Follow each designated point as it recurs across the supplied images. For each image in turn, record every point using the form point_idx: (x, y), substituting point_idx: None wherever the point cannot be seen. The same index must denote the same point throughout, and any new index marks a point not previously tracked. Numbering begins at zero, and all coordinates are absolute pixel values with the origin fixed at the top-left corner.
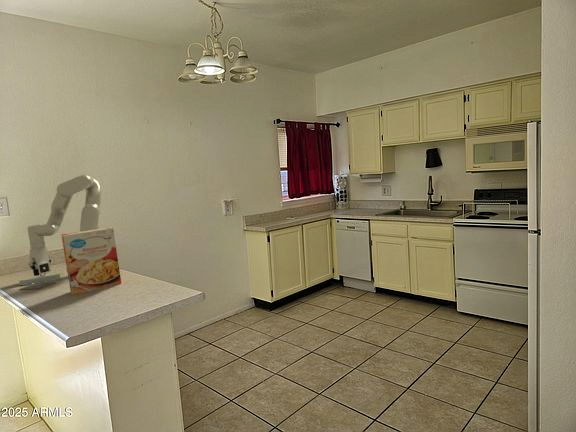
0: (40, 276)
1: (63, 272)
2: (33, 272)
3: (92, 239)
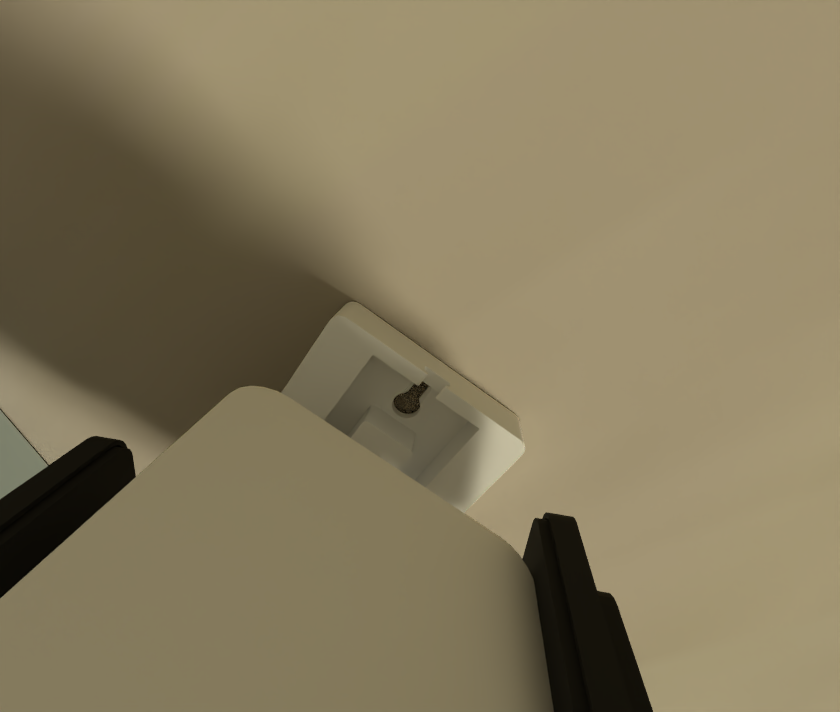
0: (408, 376)
1: (776, 616)
2: (11, 496)
3: None
